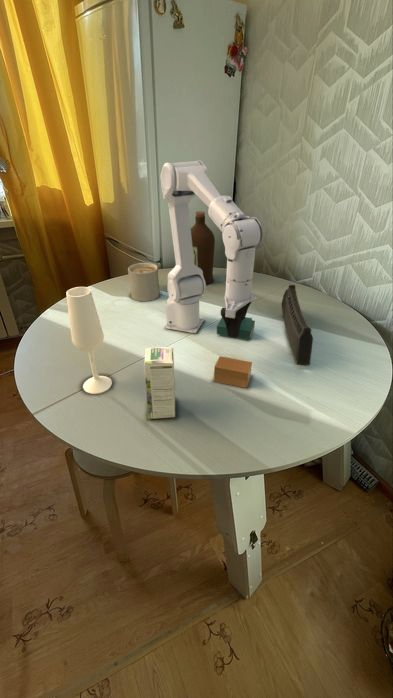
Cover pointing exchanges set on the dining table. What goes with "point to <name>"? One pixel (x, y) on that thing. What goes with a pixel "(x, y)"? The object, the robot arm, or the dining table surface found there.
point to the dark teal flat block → (244, 331)
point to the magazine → (296, 328)
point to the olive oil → (203, 246)
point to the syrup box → (160, 382)
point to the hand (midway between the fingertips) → (235, 330)
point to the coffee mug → (144, 281)
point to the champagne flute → (86, 333)
